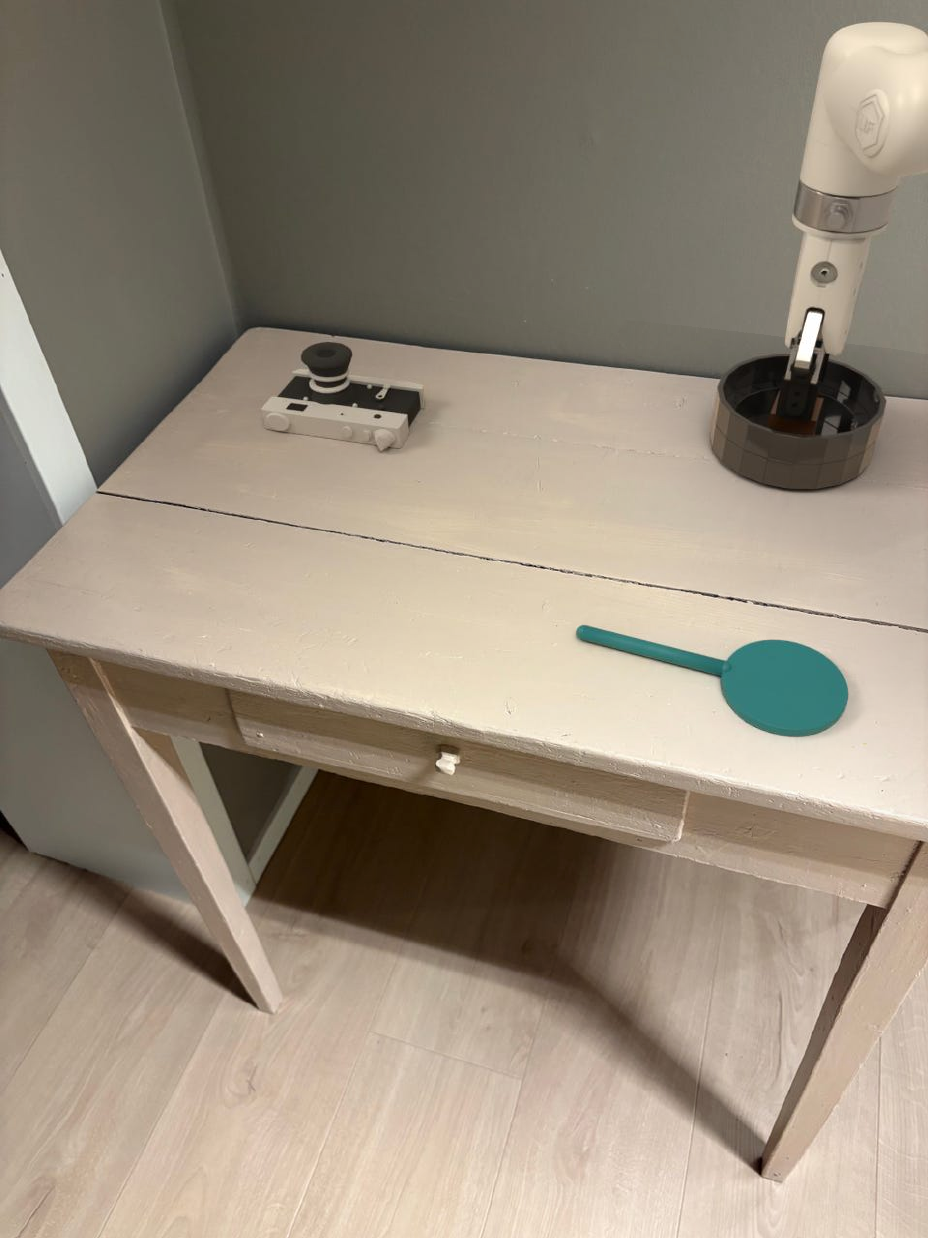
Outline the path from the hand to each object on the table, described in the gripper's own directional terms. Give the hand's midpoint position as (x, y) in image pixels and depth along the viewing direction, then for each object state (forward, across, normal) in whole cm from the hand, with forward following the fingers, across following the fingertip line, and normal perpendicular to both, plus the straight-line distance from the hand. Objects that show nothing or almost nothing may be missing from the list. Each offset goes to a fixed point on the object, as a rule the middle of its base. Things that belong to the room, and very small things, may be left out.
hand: (799, 396), depth 90 cm
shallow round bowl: (+6, 0, 0) cm, 6 cm away
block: (+5, 0, 0) cm, 5 cm away
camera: (+6, -10, +44) cm, 45 cm away
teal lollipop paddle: (+6, -32, +1) cm, 33 cm away
